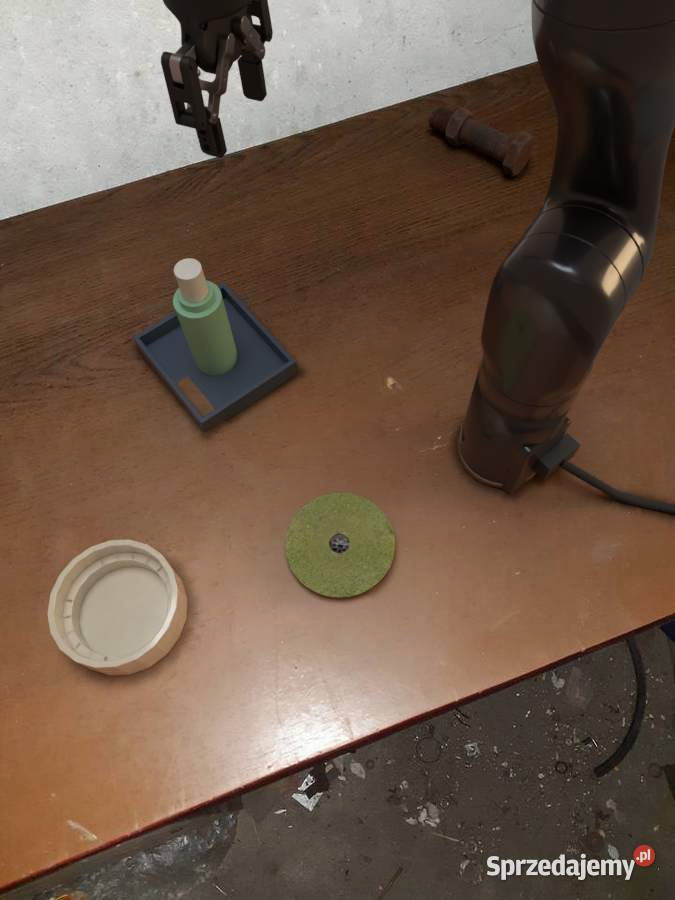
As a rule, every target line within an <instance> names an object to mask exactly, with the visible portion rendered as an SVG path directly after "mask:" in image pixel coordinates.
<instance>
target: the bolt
mask: <svg viewBox="0 0 675 900" xmlns="http://www.w3.org/2000/svg"><path fill="white" fill-rule="evenodd" d="M427 121H428V125H429V127H430V128H431V129H433V130H435V131H436V132H439V133H441V134H443V135H445V139H446V141H447V142H448V143H449V145H452V146H454V147H456V148H457V147H460V146H462V145H463V144H465V145H466V146H469V147H471V148H473V149H476V150H477V151H480V152H482V153H484V154H486V155H487V156H491V157H493V158H495V159H496V160H498V161H500V162H501V163H502V168H503V171H504V173H505V175H508V176H510V177H512V178H513V177H515V176H517V175H519V174H520V173H521V172H522V171H523V169H524V168H525V166H526V165H527V163H528V161H529V160H530V157H531V156H532V152H533V149H534V144H535V139H534V137H533V135H532V134H531V133H530V132H527V131H525V130H522V131H521V132H520V133H519V134H518V135H517V136H516V137H515V136H513V135H509V134H505V133H503V132H500V131H499V130H497V129H495V128H492V127H490V126H488V125H486V124H484V123H481V122H478V120H475V117H474V114H473V113H472V111H471V110H470V109H468V108H466V107H461V108H459V109H457V110H455V111H454V110H452V109H450V108H448V107H446V106H444V105H441V106H440V107H436V108H432V109H431V111H430V116H429V117H428V120H427Z"/></svg>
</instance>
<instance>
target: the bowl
mask: <svg viewBox="0 0 675 900" xmlns="http://www.w3.org/2000/svg"><path fill="white" fill-rule="evenodd" d="M188 602H189V601H188V596H187V592H186V589H185V584H184V582H183V580H182V578H181V577H180V576H179V575H178V573H177V572H176V570H175V569H174V567H173V566H172V565H171V563H170V562H169V561H168V560H167V559H166V558H165V556H164V555H163V554H162V553H160V552H159V551H158V550H157V549H156V548H153V547H152V546H151V545H149V544H146V543H144V542H141V541H136V540H132V539H110V540H107V541H104V542H100V543H98V544H95V545H93V546H90V547H88V548H87V549H86V550H83V551H82V552H81V553H79V554H78V555H77V556H75V557H73V558H72V560H70V562H69V563H68V564H67V565H66V566H65V567H64V568H63V570H62V571H61V572H60V573H59V575H58V577H57V579H56V581H55V583H54V585H53V587H52V589H51V591H50V595H49V601H48V606H47V614H46V616H47V621H48V626H49V632H50V635H51V637H52V638H53V640H54V642H55V644H56V645H57V647H58V649H59V650H60V651H61V652H62V653H63V654H65V655H66V656H67V657H68V658H69V659H71V660H72V661H73V662H75V663H76V664H79V665H81V666H83V667H85V668H86V669H89V670H91V671H94V672H97V673H101V674H103V675H106V676H130V675H133V674H135V673H139V672H141V671H144V670H146V669H147V670H148V669H149V668H151V667H152V666H153V665H155V664H156V663H157V662H159V661H160V660H161V659H163V658H164V657H166V655H168V654H169V652H170V651H171V650H172V648H173V647H174V646H175V644H176V643H177V642H178V640H179V639H180V637H181V635H182V632H183V629H184V627H185V624H186V621H187V617H188V604H189V603H188Z"/></svg>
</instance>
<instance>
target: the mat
mask: <svg viewBox="0 0 675 900" xmlns="http://www.w3.org/2000/svg"><path fill="white" fill-rule="evenodd" d="M286 531H287V532H286V534H285V541H284V546H285V547H284V549H285V557H286V560H287V564H288V565H289V568H290V570H291V571H292V573H293V575H294V576H295V577H296V579H297V580H298V581H299V582H300V583H301V584H302V585H303V586H305V587H306V588H308V589H309V590H311V591H312V592H315V593H316V594H319V595H322V596H325V597H329V598H330V597H331V598H350V597H354V596H357V595H360V594H363V593H365V592H367V591H368V590H371V589H372V588H373V587H374V586H375V585H377V584H379V582H380V581H381V580H382V579H383V578H384V577H385V576H386V575H387V572H388V571H389V569H390V568H391V565H392V563H393V560H394V556H395V551H396V540H395V539H396V538H395V533H394V530H393V527H392V524H391V522H390V520H389V518H388V517H387V515H386V514H385V513H384V512H383V510H381V508H380V507H379V506H378V505H377V504H375V503H374V502H373V501H371V500H369V499H368V498H365V497H363V496H361V495H358V494H354V493H349V492H332V493H331V492H330V493H327V494H322V495H320V496H317V497H314V499H312V500H310V501H309V502H307V503H306V504H304V505H303V506H302V507H300V509H299V510H298V511H297V512H296V514H295V515H294V516H293V518H292V520H291V521H290V523H289V526H288V529H287V530H286Z"/></svg>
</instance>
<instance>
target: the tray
mask: <svg viewBox="0 0 675 900" xmlns="http://www.w3.org/2000/svg"><path fill="white" fill-rule="evenodd" d="M216 286H217V287H218V288H219V289H220V291H221V294H222V298H223V302H224V305H225V309H226V313H227V316H228V320H229V324H230V327H231V331H232V335H233V338H234V342H235V346H236V349H237V354H238V358H237V362H236V364H235V365H234V367H233V368H232V369H231V370H230V371H228V372H226V373H224V374H221V375H216V376H212V375H207V374H204V373H203V372H201V371H200V370H199V369H198V368H197V367H196V364H195V362H194V359H193V357H192V354H191V351H190V349H189V346H188V343H187V341H186V338H185V335H184V333H183V330H182V327H181V325H180V322H179V319H178V317H177V314H176V311H174V312H172V313H171V314H168V315H167V316H165V317H164V318H162V319H160V320H158V321H157V322H155V323H154V324H151V325H150V326H148V327H147V328H145V329H143V330H141V331H140V332H139V333H137V334H135V335H134V336H132V341H134V344H135V345H136V348H137V349H138V351H139V352H140V353H141V355H142V356H143V358H145V360H146V362H148V364H149V365H150V366H151V367H152V369H153V370H154V371H155V372H156V374H157V375H158V376H159V377H160V379H161V381H163V382H164V384H165V385H166V387H168V389H170V390H171V392H172V393H173V394H174V395H175V397H176V398H177V399H178V400H179V401H180V403H181V404H182V405H183V407H184V408H185V409H186V411H187V412H188V413H189V414H190V415H191V417H192V418H193V419H194V420H195V422H196V423H197V424H198V425H199V427H200V428H201V430H203V432H204V433H205V432H207V431H208V430H210V429H212V428H213V427H214V426H216V425H217V424H219V423H221V422H223V421H224V422H226V421H228V420H229V419H230V418H233V417H234V416H236V415H237V414H238V413H240V412H242V411H243V410H245V409H246V408H248V407H249V406H251V405H252V404H254V403H255V402H256V401H258V400H259V399H261V398H262V397H264V396H266V395H267V394H269V393H270V392H272V391H273V390H274V389H276V388H278V387H279V386H282V385H283V384H284V383H286V382H287V381H288V380H290V379H292V378H293V377H294V376H296V375H297V374H299V371H298V370H299V369H298V363H297V360H296V359H295V358H294V357H293V356H292V355H291V354H290V352H288V350H287V349H286V348H285V347H284V346H283V345H282V343H280V342H279V341H278V339H276V337H275V336H274V335H273V334H272V333H271V332H270V330H268V328H266V326H265V325H264V324H263V323H262V322H261V321H260V320H259V319H258V317H257V316H255V314H254V313H253V312H252V311H251V310H250V308H248V307H247V306H246V304H244V302H243V301H242V300H241V299H240V298H239V297H238V296H237V295H236V294H235V293H234V292H233V290H232V289H231V287H229V286H228V285H227V284H226V283H225V282H222V283H221V284H219V285H216ZM186 378H188V379H190V381H192V383H193V384H194V385H195V386H196V388H197V389H198V390H199V392H200V393H201V394H202V395H203V396H204V397H205V399H206V400H207V401H208V403H209V404H210V405H211V406H212V407H213V408H214V409H213V410H212V411H210V412H208V413H207V414H205V415H204V416H202V414H201V413H200V412H199V411H198V409H197V408H196V407H195V405H194V404H193V403H192V402H191V401H190V399H189V398H188V397H187V396H186V394H185V393H184V392H183V391H182V389H181V388H180V387H179V386H178V385H177V384H179V383H180V382H181V381H183V380H184V379H186Z"/></svg>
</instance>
